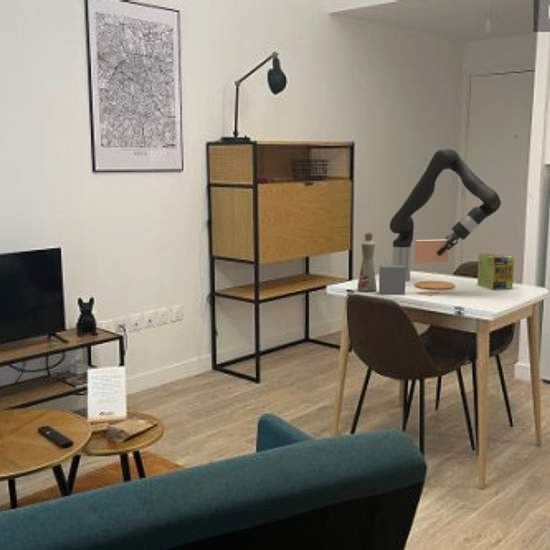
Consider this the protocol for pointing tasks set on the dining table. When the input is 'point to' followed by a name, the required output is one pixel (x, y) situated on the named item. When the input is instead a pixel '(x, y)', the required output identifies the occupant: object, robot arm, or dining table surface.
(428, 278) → the dining table surface
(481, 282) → the protein box
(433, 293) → the mat
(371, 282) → the bottle
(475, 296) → the dining table surface
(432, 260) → the book
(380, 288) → the block
